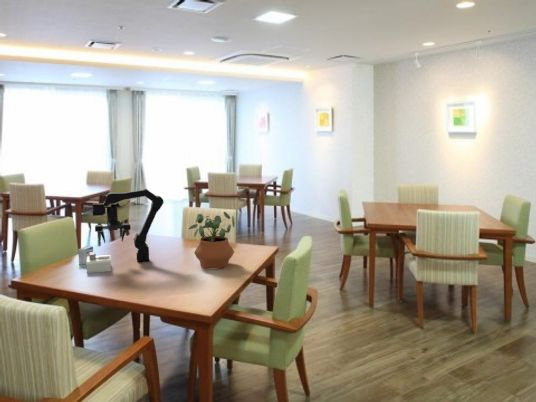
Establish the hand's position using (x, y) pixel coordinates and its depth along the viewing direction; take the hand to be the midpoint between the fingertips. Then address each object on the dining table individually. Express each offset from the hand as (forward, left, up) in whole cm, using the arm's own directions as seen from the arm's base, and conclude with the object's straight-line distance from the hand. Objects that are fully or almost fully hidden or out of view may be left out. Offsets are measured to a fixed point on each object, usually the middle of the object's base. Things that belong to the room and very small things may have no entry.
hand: (113, 242), depth 253 cm
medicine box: (+15, -6, -12) cm, 20 cm away
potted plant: (-51, +20, -12) cm, 56 cm away
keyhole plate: (+8, +10, -12) cm, 18 cm away
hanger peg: (+11, +10, -11) cm, 19 cm away
